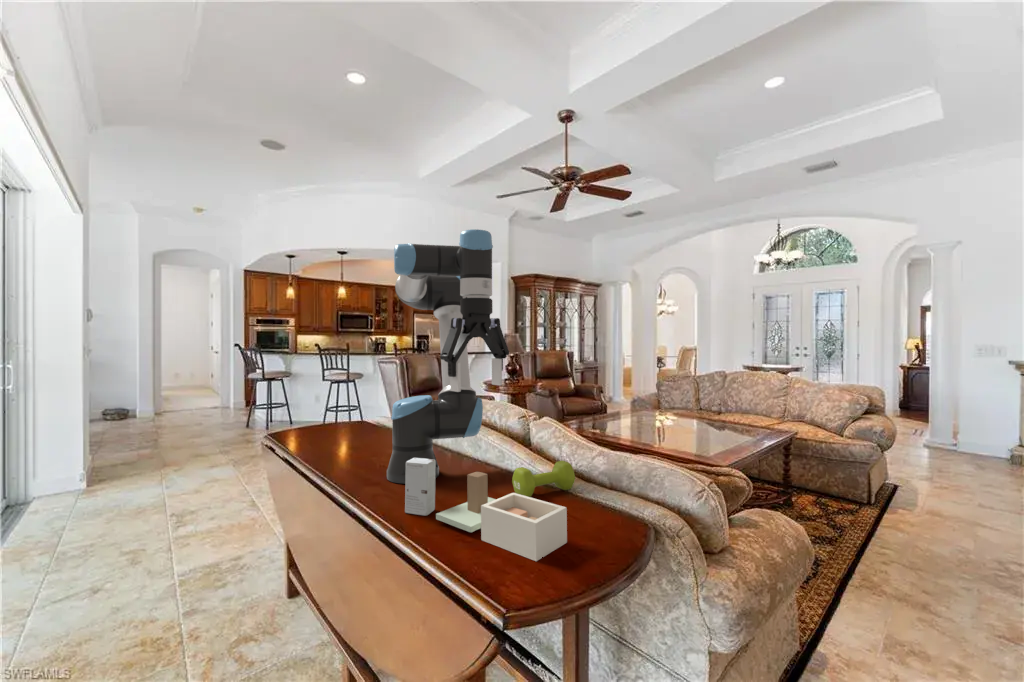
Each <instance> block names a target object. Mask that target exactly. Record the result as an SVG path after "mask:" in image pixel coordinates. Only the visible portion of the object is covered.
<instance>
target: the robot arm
mask: <svg viewBox="0 0 1024 682" xmlns="http://www.w3.org/2000/svg"><path fill="white" fill-rule="evenodd" d="M492 239H493V238H492V234H491V231H490V232H489V231H488V230H486V229H485V230H483V229H478V228H477V229H466V230H462V231H461V232H460V235H459V242H458V244H459V245H440V244H423V243H421V244H420V243H419V244H417V243H409V242H408V243H398V244H395V245H394V249H393V263H394V264H393V267H394V269H393V270H394V274H396V275H398V278H397V279H396V281H395V285H394V289H395V293H396V296H397V297H398V299H399V300H400V301H401V302H402V303H403V304H405V305H406V306H409V307H411V308H413V309H416V310H423V311H432V312H433V316H434V317H435V319H437V320H438V329H439V330H438V333H439V345H440V346H439V348H440V355H439V356H440V357H439V358H440V361H441V362H440V363H441V365H440V366H441V380H442V381H441V383H442V389H441V391H440V392H439V393H438V395H437V397H438V398H437V399H433V397H432V395H428V394H427V395H426V394H425V395H416V396H414V395H413V396H409V397H404V398H401V399H399V400H396V401H395V402H394V403H393V404H392V408H391V409H392V411H391V414H392V415H391V420H392V423H391V424H392V425H391V426H392V428H391V429H392V432H391V433H392V437H391V438H392V440H391V441H392V445H391V446H392V453H391V456H390V459H389V462H388V466H387V468H386V479H387V481H389V482H391V483H394V484H403V485H404V484H405V472H406V462H407V461H408V460H410V459H412V458H425V459H433V460H436V468H435V479H436V478H438V477H439V475H440V466H439V463H438V460H437V457H436V455H435V452H434V448H433V440H444V439H445V440H447V439H456V438H457V439H459V438H460V439H461V438H462V439H465V438H468V437H469V438H470V437H471V438H472V437H475V436H477V435H478V434H479V433H480V431H481V427H482V421H483V416H484V413H483V410H484V408H483V407H484V405H483V399H482V398H481V397H479V396H478V397H477V393H476V392H477V391H476V390H474V389H473V388H472V386H471V378H470V364H469V355H468V353H469V352H468V345H469V342H470V341H471V340H472V339H473V338H481V339H483V341H484V343H485V344H486V346H487V348H488V349H489V351H490V353H491V354H492V356H493V357H494V358H493V357H492V358H491V385H493V386H503V371H504V359H506V358H507V356H509V354H510V351H509V348H508V345H507V343H506V339H505V337H504V333H503V330H502V327H501V319H500V318H499V317H495V318H493V317H491V315H492V314H493V299H492V298H490V297H492V296H493V248H494V246H493V240H492Z"/></svg>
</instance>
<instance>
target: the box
mask: <svg viewBox="0 0 1024 682" xmlns="http://www.w3.org/2000/svg"><path fill="white" fill-rule="evenodd" d="M495 499H496V498H495ZM567 511H568V509H567V506H564V505H563V506H562V505H559V504H556V503H553V502H550V501H549V502H548V501H546V500H541V499H537V498H534V497H532V496H531V497H527V496H524V495H520V494H517V493H515V492H511V493H507V494H506V495H504V496H502V497H499V498H497V499H496V500H493V501H491V502H488V503H486V504H484V505H481V528H480V532H481V533H480V535H481V536H480V539H481V541H482V542H485V543H488V544H491V545H493V546H496V547H498V548H501V549H503V550H506V551H508V552H511V553H514V554H516V555H519V556H521V557H524V558H526V559H529V560H532V561H535V562H538V561H539V560H541V559H543V558H544V557H546V556H547V555H549V554H551V553H552V552H554V551H555V550H558V549H559V548H561V547H562V546H564V545H565V544H567V543H568V531H567V530H568V525H567V524H568V521H567V520H568V517H567V516H568V514H567V513H568V512H567ZM542 557H543V558H542Z"/></svg>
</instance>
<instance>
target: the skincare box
mask: <svg viewBox="0 0 1024 682" xmlns="http://www.w3.org/2000/svg"><path fill="white" fill-rule="evenodd" d="M436 460H437V459H436ZM436 460H433V459H425V458H412V459H410V460H408V461H407V462H406V472H405V485H404V486H405V487H404V489H405V490H404V493H405V494H404V495H405V496H404V503H405V504H404V513H405V514H411V515H416V516H417V515H418V516H423V517H424V516H428V515H430V514H431V513H432V512H434V511H435V510H436V478H435V468H436Z"/></svg>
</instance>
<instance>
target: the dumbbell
mask: <svg viewBox="0 0 1024 682" xmlns="http://www.w3.org/2000/svg"><path fill="white" fill-rule="evenodd" d="M511 479H512V480H511V483H512V487H513V490H514V493H517V494H520V495H524V496H527V497H531V498H532V496H533V494H534V492H535V490H536V489H535V488H536V487H540V486H541V487H542V486H546V485H552V484H554V486H555V487H557V488H558V489H560V490H563V491H569V490H571V489H572V488H573V486H574V483H575V480H576V475H575V471H574V468H573V465H572V464H571V463H570V462H568V461H566V460H558V461H556V462H555V463H554V465H553V468H552V470H551V471H547V472H541V473H537V474H533V472H532V471H531V469H528V467H527V468H526V467H517V468H515V470H514V472H513V475H512V478H511Z"/></svg>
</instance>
